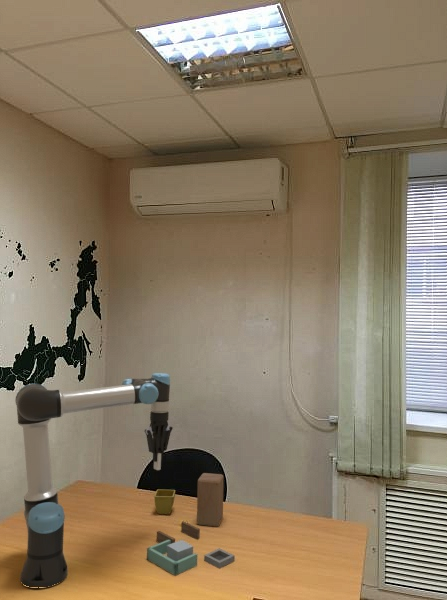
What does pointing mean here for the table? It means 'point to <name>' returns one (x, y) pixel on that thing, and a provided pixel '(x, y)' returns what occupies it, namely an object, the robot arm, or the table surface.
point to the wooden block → (210, 499)
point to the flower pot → (164, 501)
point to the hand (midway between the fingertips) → (157, 469)
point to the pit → (219, 558)
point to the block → (179, 550)
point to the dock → (168, 564)
